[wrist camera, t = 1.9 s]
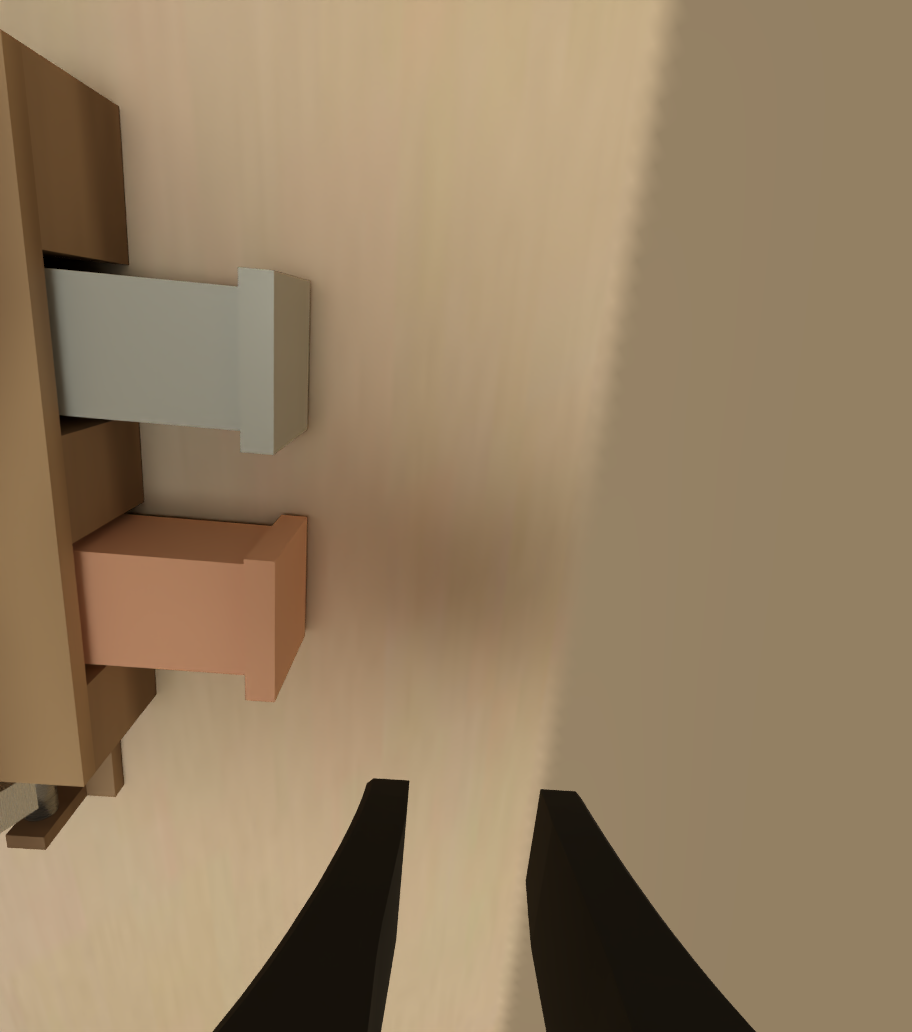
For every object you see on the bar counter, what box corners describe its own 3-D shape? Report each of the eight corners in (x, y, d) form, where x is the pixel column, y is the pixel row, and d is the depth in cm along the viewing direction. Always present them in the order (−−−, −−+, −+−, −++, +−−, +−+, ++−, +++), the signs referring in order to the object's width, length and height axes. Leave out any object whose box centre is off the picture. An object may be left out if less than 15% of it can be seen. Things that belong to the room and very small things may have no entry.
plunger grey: (310, 281, 17) (273, 270, 14) (307, 428, 19) (273, 455, 15) (67, 257, 17) (-35, 240, 13) (80, 409, 18) (-10, 430, 15)
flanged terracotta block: (307, 516, 19) (275, 561, 16) (304, 635, 21) (274, 702, 17) (90, 498, 19) (7, 540, 16) (102, 620, 20) (27, 684, 17)
